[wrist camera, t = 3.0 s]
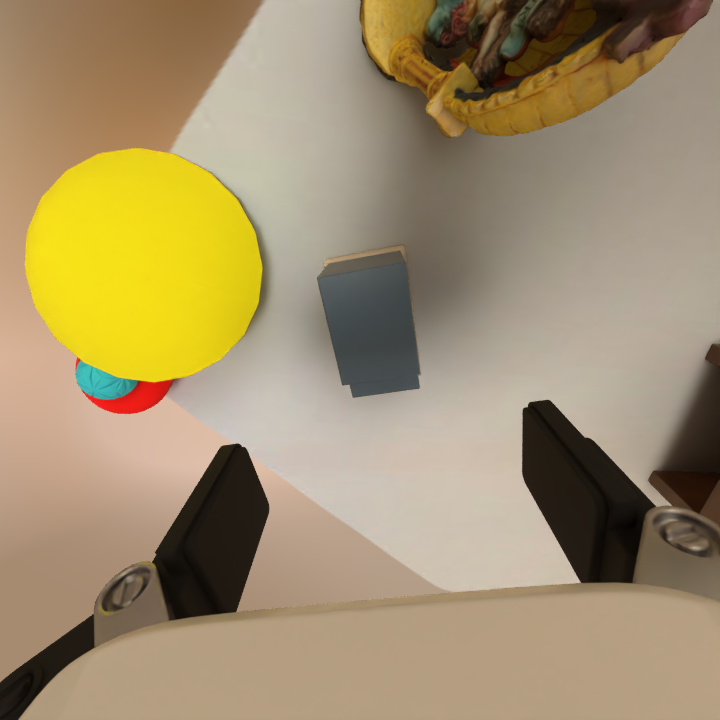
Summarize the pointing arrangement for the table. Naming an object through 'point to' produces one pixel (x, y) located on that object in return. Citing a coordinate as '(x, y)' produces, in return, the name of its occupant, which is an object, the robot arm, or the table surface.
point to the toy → (141, 272)
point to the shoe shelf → (692, 481)
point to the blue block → (371, 320)
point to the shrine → (521, 54)
